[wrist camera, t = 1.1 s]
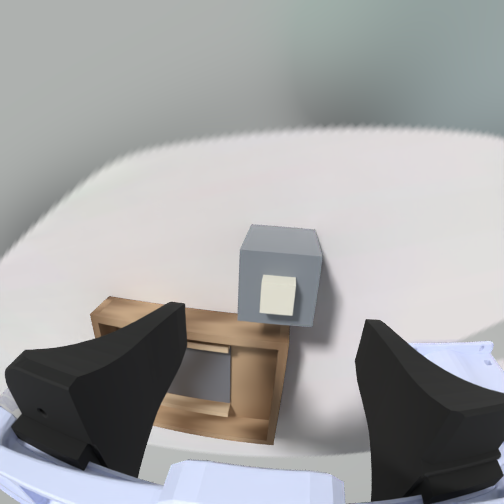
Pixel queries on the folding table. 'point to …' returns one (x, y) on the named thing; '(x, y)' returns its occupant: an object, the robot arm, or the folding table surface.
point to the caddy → (216, 372)
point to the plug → (279, 275)
